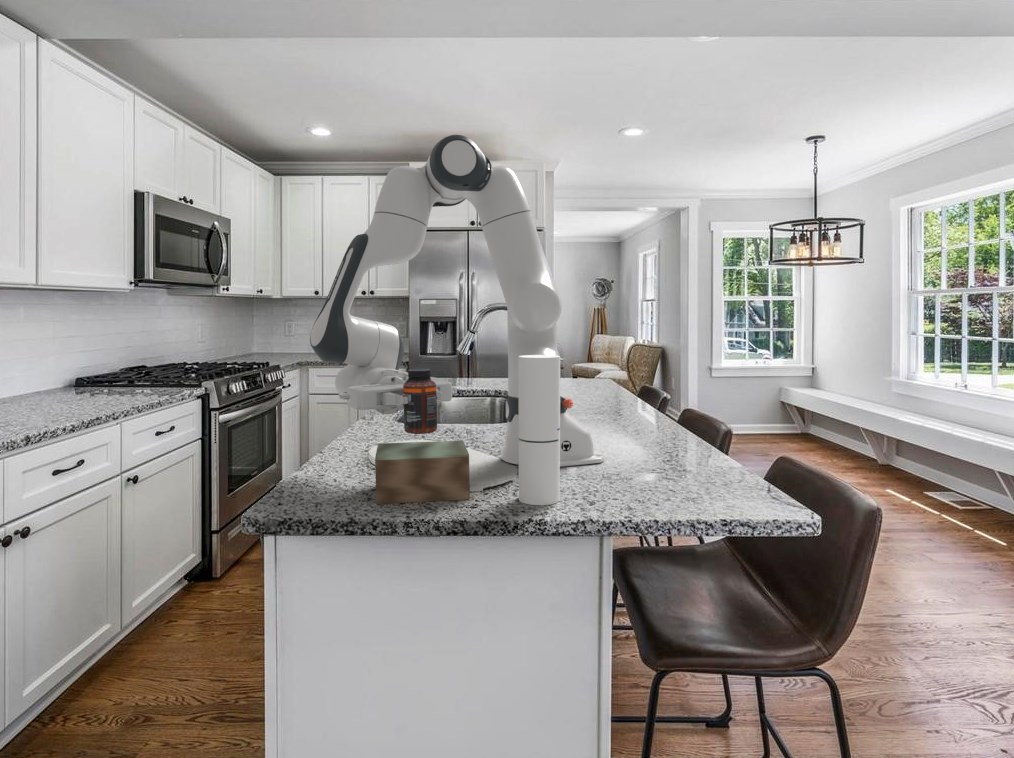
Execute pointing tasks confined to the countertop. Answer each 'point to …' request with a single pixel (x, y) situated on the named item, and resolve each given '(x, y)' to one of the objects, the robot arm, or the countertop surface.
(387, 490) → the block
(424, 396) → the supplement bottle
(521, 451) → the cylindrical container
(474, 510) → the countertop surface
